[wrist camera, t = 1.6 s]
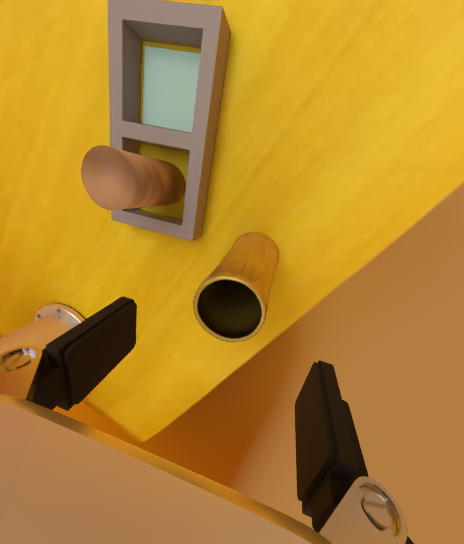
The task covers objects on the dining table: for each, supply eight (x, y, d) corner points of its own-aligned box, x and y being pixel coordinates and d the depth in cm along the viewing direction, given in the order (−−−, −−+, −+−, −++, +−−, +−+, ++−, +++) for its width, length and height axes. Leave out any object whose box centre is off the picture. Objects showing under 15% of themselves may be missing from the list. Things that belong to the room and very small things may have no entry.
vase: (282, 236, 26) (281, 279, 13) (273, 281, 28) (264, 357, 15) (234, 228, 27) (188, 261, 14) (229, 273, 29) (185, 337, 16)
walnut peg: (182, 208, 28) (132, 216, 19) (147, 200, 29) (83, 203, 19) (187, 166, 26) (134, 151, 17) (149, 158, 27) (79, 140, 17)
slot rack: (201, 236, 29) (192, 241, 26) (127, 217, 30) (111, 220, 27) (230, 31, 21) (222, 6, 18) (129, 19, 22) (107, -5, 20)
